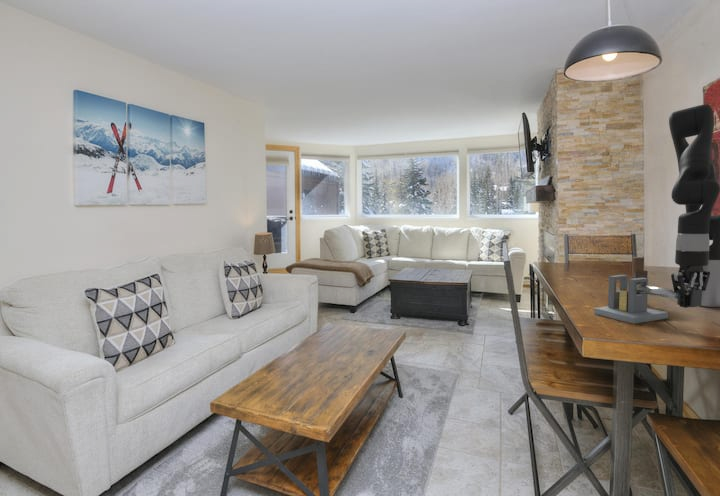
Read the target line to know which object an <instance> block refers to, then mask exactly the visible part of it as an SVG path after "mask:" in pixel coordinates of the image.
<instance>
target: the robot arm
mask: <svg viewBox="0 0 720 496" xmlns="http://www.w3.org/2000/svg"><path fill="white" fill-rule="evenodd" d="M714 115H715V114H714V111H713V107H712V106H711V105H709V104H701V105H700V104H699V105H695V106H693V107H692V106H691V107H688V108H684V109H680V110H676V111H674V112H671V113H670V115H669V117H668V127H669V131H670V135H671V139H672V142H673V143H672V144H673V147H674V151H675V154H676V155H675V156H676V159H677V165H678V166H677V167H678V177H677V179H676V181H675V184H674V185H673V187H672V191H671V199H672V201H673V202H674V203H675V204H676V205H680V206H681V205H682V206H685V213H681V214H680V215H679V216H678V220H677V234H676V235H677V236H676V238H675V242H676V243H675V255H674V256H675V258H674V263H675V264H676V265H678V266H679V268H678V271H677V273H671V275H670V276H671V283H672V287H673V288H672V289H673V290H674V292H676V293H678V294H680V300H679V305H678V306H679V307H681V308H685V309H687V308H690V307H689V297H690V295H689V294H690V290H691V288H697V289H702V302H701V306H700V307H708V308H720V214H712V212H713V209H714V207H715V205H716V202H717V200H718V198H719V195H720V184H719V182H718V181H717V180H716V174H715V173H716V171H715V168H714V164H713V163H712V162H711V161H710V160H711V158H710V152H711V146H712V141H713V136H714V128H715V116H714ZM695 136H696V137H695ZM690 137H695V138H694V139H693V141H691V142H690V144H689V142H688V141H687V139H686V138H690ZM710 241H712V242H711V244H710ZM685 287H686V290H685ZM678 288H679V289H678Z"/></svg>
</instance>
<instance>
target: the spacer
mask: <svg viewBox="0 0 720 496" xmlns="http://www.w3.org/2000/svg"><path fill="white" fill-rule="evenodd" d="M619 290H620V289H619ZM636 294H640V293H638V292H637V291H636ZM619 311H624V312H628V288H627V289H625V290H620V297H619Z"/></svg>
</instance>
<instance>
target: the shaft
mask: <svg viewBox="0 0 720 496" xmlns="http://www.w3.org/2000/svg"><path fill="white" fill-rule="evenodd" d="M678 289H679V287H678ZM685 290H686V287H685ZM636 291H637V292H638V293H644V294H648V295H651V296H654V297H661V298H666V299H667V298H668V299H673V300H677V303H676V305H678V306H679V300H680V294H678V293H676V292H674V289H673V288H672V289H671V288H666V287H665V288H664V287H660V286H659V287H658V286H654V285H653V286H652V285H649V284H648V285H641V284H638V285H637V288H636ZM689 295H690V297H689V307H688V308H696V307H702V306H701V302H702V289H697V288H691V290H690V294H689Z"/></svg>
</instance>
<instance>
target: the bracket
mask: <svg viewBox="0 0 720 496" xmlns="http://www.w3.org/2000/svg"><path fill="white" fill-rule="evenodd" d="M628 276H629V275H627V274H618V275H609V276H608V302H607V306H600V307H594V308H593V313H594V315H597V316H602V317H605V318H610V319H613V320H617V321H620V322H624V323H630V324H632V325H635V324H642V323H646V322H652V321H659V320H666V319H668V317H669V312H668V311H664V310H659V309H654V308H649V307H648V297H649V296H648V295H649V294H644V293H640V294H636V288H637V283H638V282H640V284H641V285H648V286H649V278H648V277H647V278H634V279H632V278H629V277H628ZM617 280H619V289H617ZM625 289H628V312H624V311H619V297H620V290H625Z"/></svg>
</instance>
